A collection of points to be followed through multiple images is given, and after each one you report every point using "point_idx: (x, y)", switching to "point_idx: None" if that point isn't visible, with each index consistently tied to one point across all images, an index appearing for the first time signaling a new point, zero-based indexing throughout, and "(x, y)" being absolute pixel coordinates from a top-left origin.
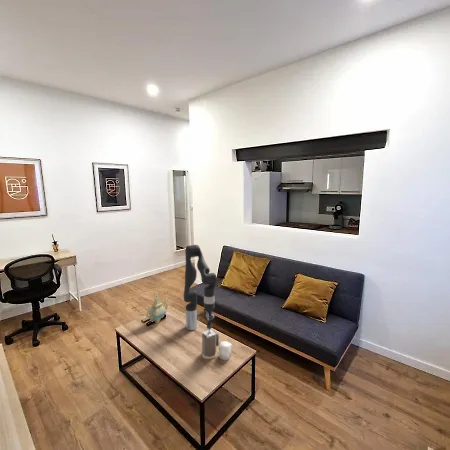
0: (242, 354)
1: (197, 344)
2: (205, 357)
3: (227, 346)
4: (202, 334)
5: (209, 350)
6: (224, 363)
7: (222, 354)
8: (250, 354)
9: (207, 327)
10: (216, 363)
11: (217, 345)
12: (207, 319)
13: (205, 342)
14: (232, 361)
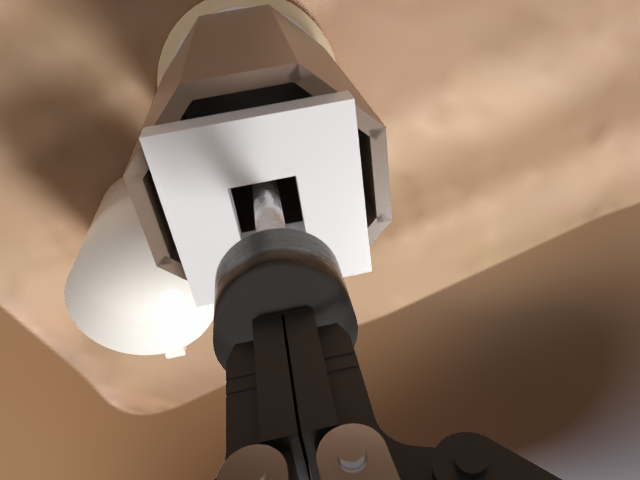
0: (139, 358)
1: (475, 10)
2: (190, 18)
3: (99, 317)
4: (313, 74)
5: (158, 90)
6: (48, 185)
7: (99, 214)
8: (121, 406)
9: (252, 249)
10: (65, 108)
11: None
12: (331, 426)
13: (180, 69)
14: (63, 261)
